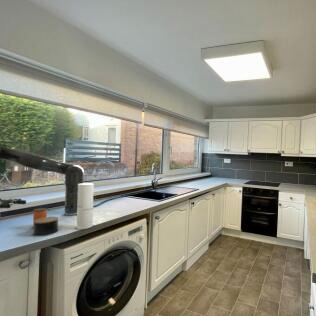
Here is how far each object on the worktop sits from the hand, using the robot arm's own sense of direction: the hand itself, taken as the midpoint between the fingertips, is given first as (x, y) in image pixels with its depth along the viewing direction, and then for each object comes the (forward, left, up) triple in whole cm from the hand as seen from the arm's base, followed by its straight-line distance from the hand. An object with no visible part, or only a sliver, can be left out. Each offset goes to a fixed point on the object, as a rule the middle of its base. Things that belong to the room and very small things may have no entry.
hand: (18, 204), depth 109 cm
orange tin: (-6, +10, -13) cm, 17 cm away
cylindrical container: (-18, +30, -13) cm, 37 cm away
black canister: (-4, +22, -13) cm, 25 cm away
